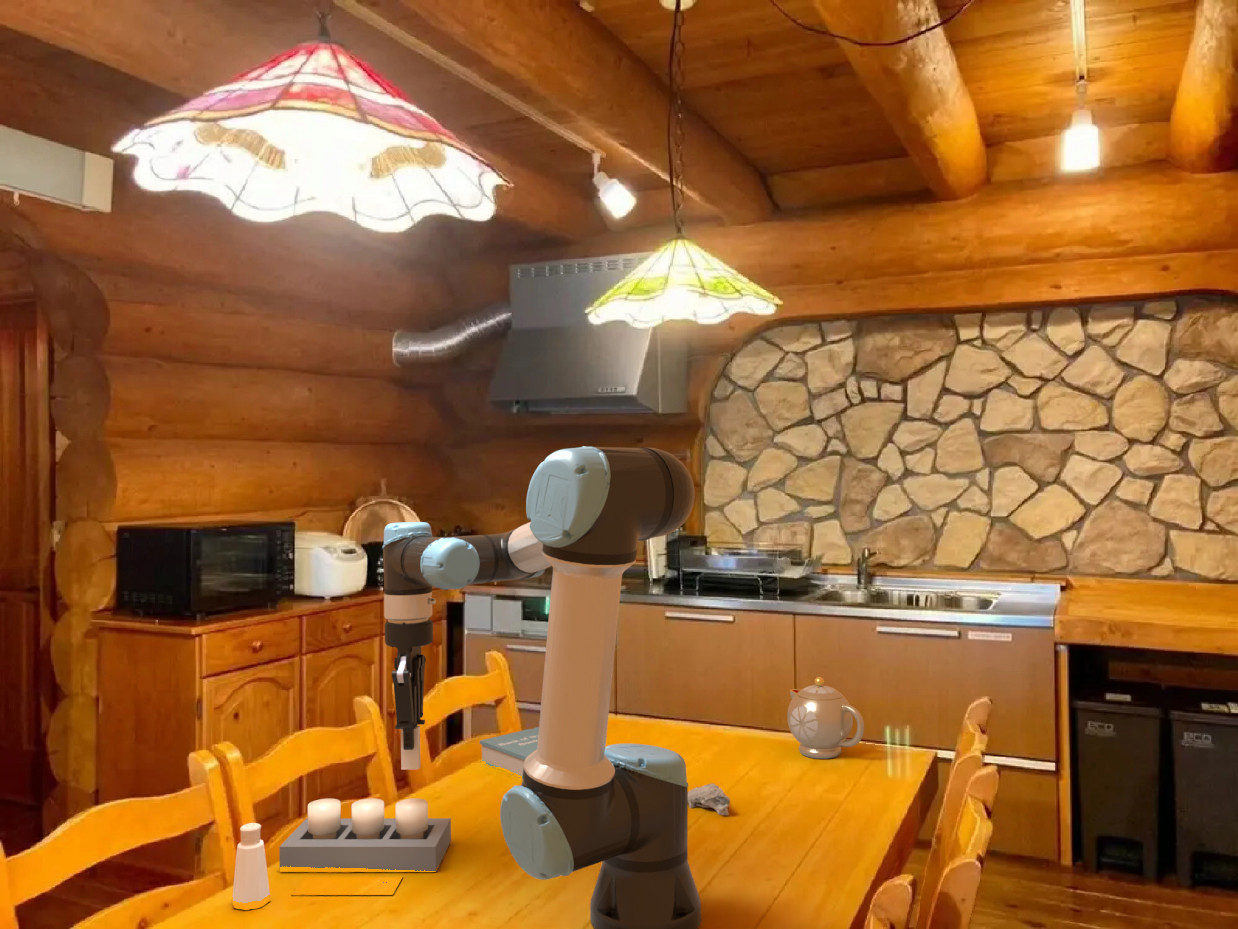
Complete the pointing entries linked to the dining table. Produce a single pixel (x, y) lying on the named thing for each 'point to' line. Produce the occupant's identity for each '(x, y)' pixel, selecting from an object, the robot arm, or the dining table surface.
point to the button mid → (368, 818)
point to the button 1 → (324, 818)
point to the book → (510, 749)
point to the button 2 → (412, 818)
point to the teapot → (822, 720)
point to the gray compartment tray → (368, 848)
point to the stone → (709, 798)
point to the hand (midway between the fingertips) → (410, 768)
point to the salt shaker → (250, 866)
